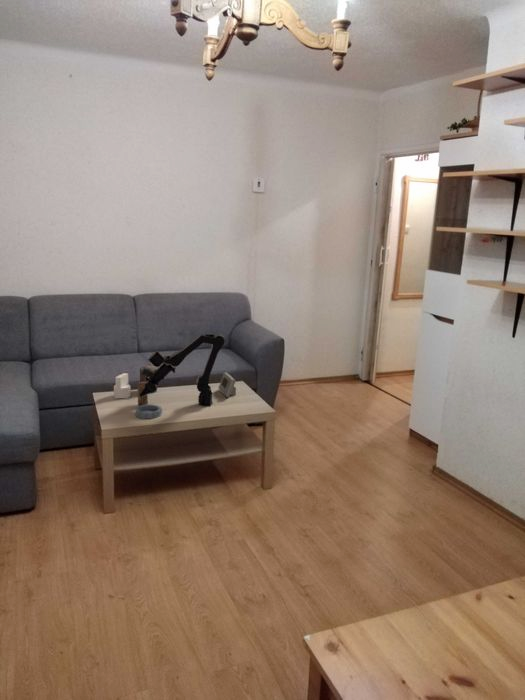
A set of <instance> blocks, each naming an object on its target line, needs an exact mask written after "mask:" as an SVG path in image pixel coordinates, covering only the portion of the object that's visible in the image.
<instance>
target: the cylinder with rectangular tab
mask: <svg viewBox="0 0 525 700" xmlns="http://www.w3.org/2000/svg"><path fill="white" fill-rule="evenodd" d="M131 386H132V385H130V384H129V373H125V372H123V373H122V374H119V375H117V376H115V385H113V397H114V399H117V398H126V399H129V398H131V397H130V396H132V391H131V389H132V387H131ZM128 397H129V398H128Z"/></svg>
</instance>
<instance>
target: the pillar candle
mask: <svg viewBox="0 0 525 700" xmlns="http://www.w3.org/2000/svg"><path fill="white" fill-rule="evenodd" d="M144 367H147V368H149V369H152V370H153V371H154V370H155V369H158V367H155V366H154V365H144V366H141V367H140V368H139V382H146V375H143V374H141V373H142V370H143V368H144ZM157 392H158V389H157V390H156V391H155V392H153V393H152V394H154V393H155V394H156V393H157Z"/></svg>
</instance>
